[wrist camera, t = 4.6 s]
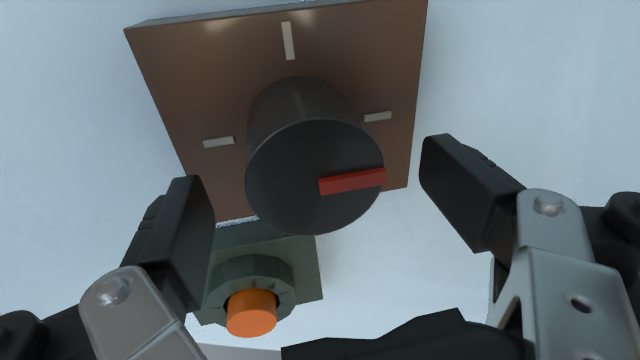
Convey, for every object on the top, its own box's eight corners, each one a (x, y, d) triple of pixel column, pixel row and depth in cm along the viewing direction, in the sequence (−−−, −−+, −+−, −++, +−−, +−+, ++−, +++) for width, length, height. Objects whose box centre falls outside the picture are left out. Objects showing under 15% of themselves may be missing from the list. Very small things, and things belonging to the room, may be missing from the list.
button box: (205, 301, 25) (197, 349, 21) (168, 237, 20) (151, 286, 17) (318, 277, 26) (327, 319, 22) (308, 210, 21) (318, 252, 18)
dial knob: (259, 179, 15) (260, 253, 11) (235, 84, 12) (224, 136, 8) (351, 163, 16) (385, 228, 12) (348, 68, 13) (392, 109, 9)
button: (235, 317, 21) (233, 342, 19) (222, 292, 19) (219, 317, 17) (279, 308, 21) (280, 331, 20) (271, 281, 19) (272, 305, 18)
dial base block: (213, 193, 19) (206, 226, 16) (146, 19, 13) (119, 29, 10) (389, 162, 20) (408, 189, 17) (400, -10, 14) (431, -8, 12)
